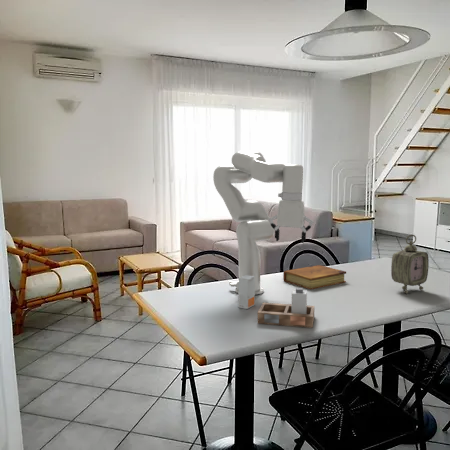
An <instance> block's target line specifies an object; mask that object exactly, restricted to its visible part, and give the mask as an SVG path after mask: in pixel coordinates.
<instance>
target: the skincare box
mask: <svg viewBox="0 0 450 450" xmlns="http://www.w3.org/2000/svg"><path fill="white" fill-rule="evenodd" d="M238 281H239V294H238V308H239V309H244V310H248V309H250V308H252V307H255V300H256V299H255V296H256V295H255V276H249V275H245V276H242V277H240V278H239V277H238Z"/></svg>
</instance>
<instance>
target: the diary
mask: <svg viewBox="0 0 450 450" xmlns="http://www.w3.org/2000/svg"><path fill="white" fill-rule="evenodd" d="M345 274H347V271H345V270H341V269H336V268H334V267H329V266H325V265H320V264H318V265H311V266H306V267H300V268H295V269H294V268H293V269H287V270H284V271H283V275H282V276H283V278H282V279H283V282H284V283H285V282H286V283H289V284H292V285H295V286H299V287H300V288H303V289H306V290H307V289H308V290H310V291H312V290H317V289H321V288H326V287H330V286H334V285H339V284H344V283H347V281H346V280H345Z"/></svg>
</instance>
